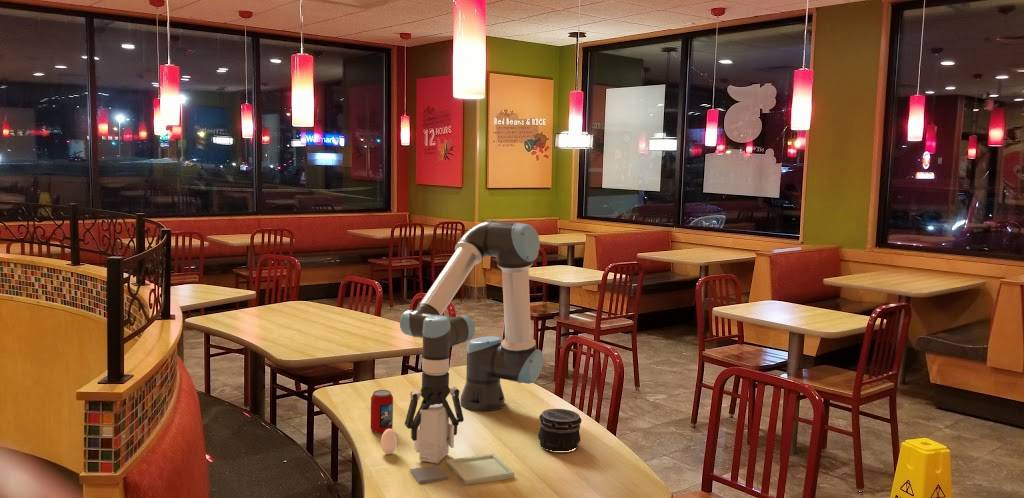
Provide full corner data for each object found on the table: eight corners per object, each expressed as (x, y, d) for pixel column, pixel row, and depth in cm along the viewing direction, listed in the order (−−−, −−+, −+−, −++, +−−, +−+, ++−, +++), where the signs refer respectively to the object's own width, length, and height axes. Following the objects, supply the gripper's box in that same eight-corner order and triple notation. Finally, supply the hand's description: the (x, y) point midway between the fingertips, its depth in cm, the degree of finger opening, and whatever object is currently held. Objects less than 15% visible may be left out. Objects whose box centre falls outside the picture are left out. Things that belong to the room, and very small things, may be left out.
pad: (438, 467, 218) (438, 465, 218) (448, 479, 211) (448, 476, 211) (410, 471, 215) (410, 469, 214) (419, 483, 207) (419, 480, 207)
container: (584, 442, 241) (586, 410, 239) (573, 457, 229) (575, 424, 227) (544, 436, 245) (545, 404, 243) (531, 450, 233) (533, 418, 231)
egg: (389, 458, 223) (390, 433, 222) (377, 454, 226) (377, 429, 225) (400, 453, 227) (400, 428, 226) (388, 449, 229) (388, 424, 229)
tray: (493, 458, 226) (493, 453, 226) (514, 477, 213) (514, 472, 213) (447, 465, 220) (447, 459, 220) (465, 485, 207) (465, 479, 207)
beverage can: (388, 435, 241) (388, 396, 239) (367, 432, 242) (367, 394, 240) (395, 427, 247) (396, 390, 246) (375, 425, 249) (375, 388, 247)
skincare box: (437, 464, 220) (439, 412, 218) (417, 461, 222) (418, 409, 220) (449, 453, 228) (450, 403, 226) (429, 450, 230) (430, 400, 228)
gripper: (467, 364, 229) (465, 438, 232) (393, 371, 220) (392, 448, 223) (477, 371, 222) (475, 448, 226) (401, 379, 213) (400, 458, 216)
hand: (434, 448), depth 224 cm, fingers closed on skincare box, 9 cm apart
